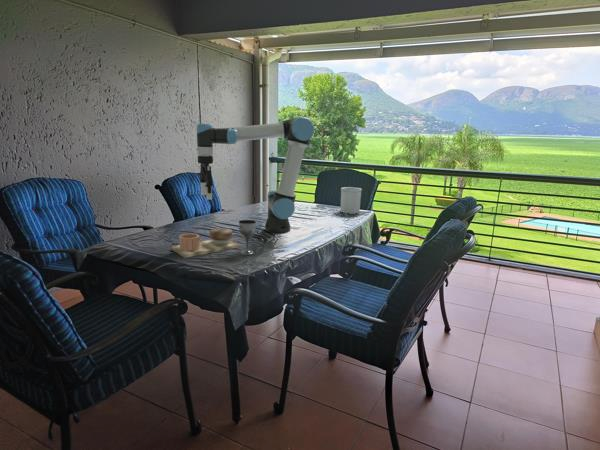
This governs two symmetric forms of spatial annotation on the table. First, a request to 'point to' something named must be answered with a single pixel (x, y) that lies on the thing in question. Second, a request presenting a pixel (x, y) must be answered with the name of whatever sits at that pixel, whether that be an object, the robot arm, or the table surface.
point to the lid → (220, 234)
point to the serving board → (205, 248)
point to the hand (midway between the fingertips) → (206, 197)
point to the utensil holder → (350, 200)
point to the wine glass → (247, 233)
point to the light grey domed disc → (221, 242)
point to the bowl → (189, 242)
